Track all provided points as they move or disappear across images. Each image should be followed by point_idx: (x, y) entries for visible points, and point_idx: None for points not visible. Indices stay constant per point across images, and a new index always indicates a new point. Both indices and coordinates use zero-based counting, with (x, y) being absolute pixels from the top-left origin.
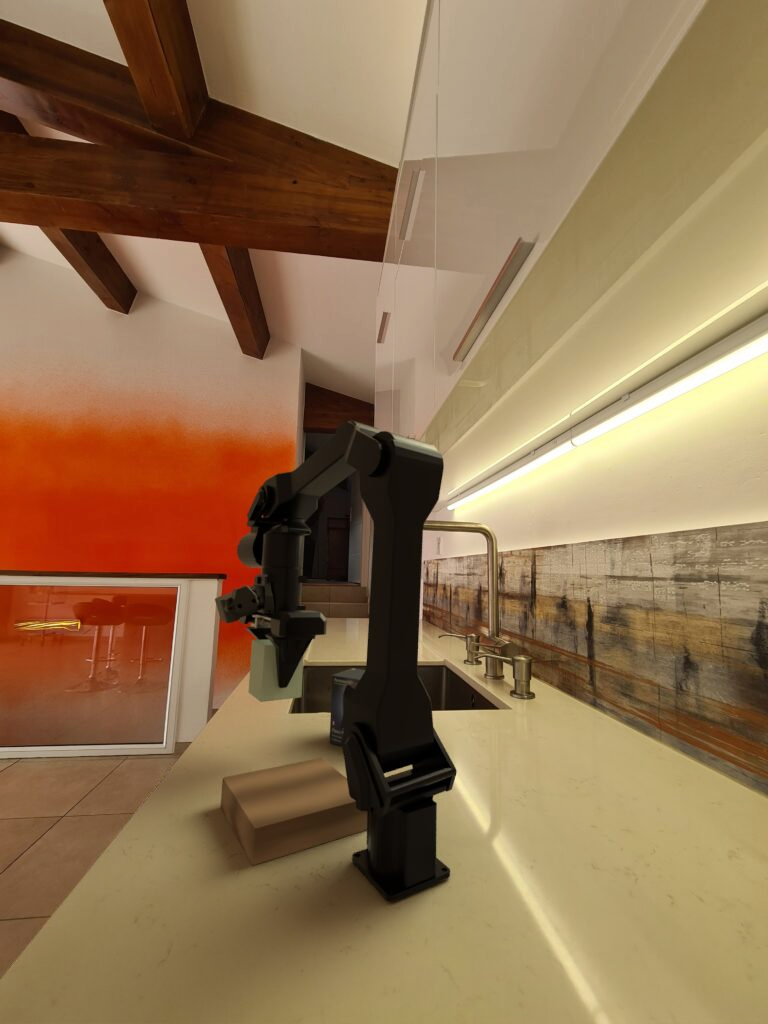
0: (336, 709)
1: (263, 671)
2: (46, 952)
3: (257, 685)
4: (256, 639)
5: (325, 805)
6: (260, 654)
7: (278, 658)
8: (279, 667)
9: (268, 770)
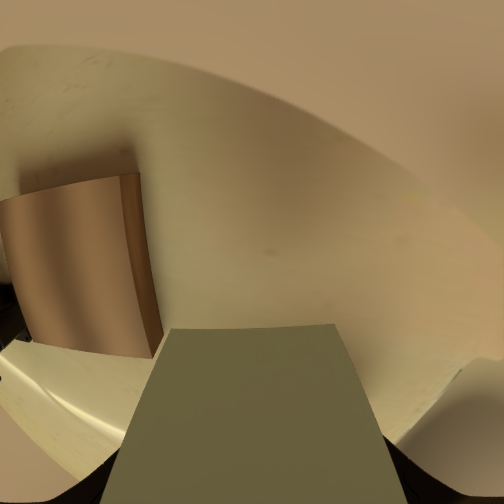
0: None
1: (138, 411)
2: (13, 52)
3: (217, 360)
4: (458, 497)
5: (20, 292)
6: (179, 484)
7: (90, 477)
8: (114, 454)
9: (121, 263)
